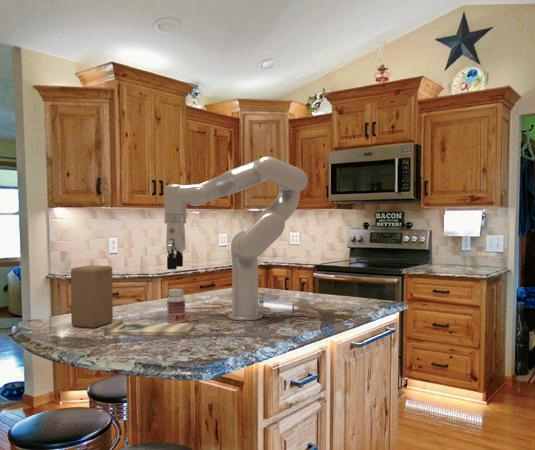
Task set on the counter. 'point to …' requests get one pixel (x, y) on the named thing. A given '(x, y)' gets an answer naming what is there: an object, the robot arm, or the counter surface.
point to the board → (148, 328)
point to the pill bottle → (176, 306)
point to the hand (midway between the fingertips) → (175, 267)
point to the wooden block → (91, 296)
